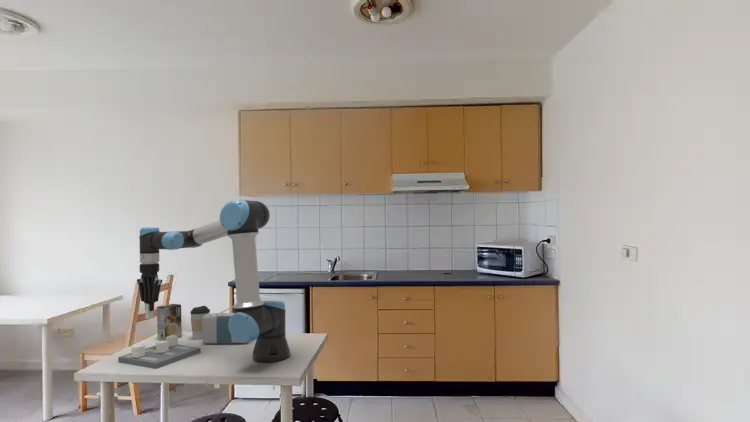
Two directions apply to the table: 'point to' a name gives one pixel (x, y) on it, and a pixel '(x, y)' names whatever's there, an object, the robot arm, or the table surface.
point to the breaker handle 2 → (172, 340)
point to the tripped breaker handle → (162, 346)
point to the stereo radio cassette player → (217, 328)
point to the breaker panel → (160, 356)
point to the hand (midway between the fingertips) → (149, 318)
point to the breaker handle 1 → (138, 351)
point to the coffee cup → (198, 321)
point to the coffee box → (169, 321)
